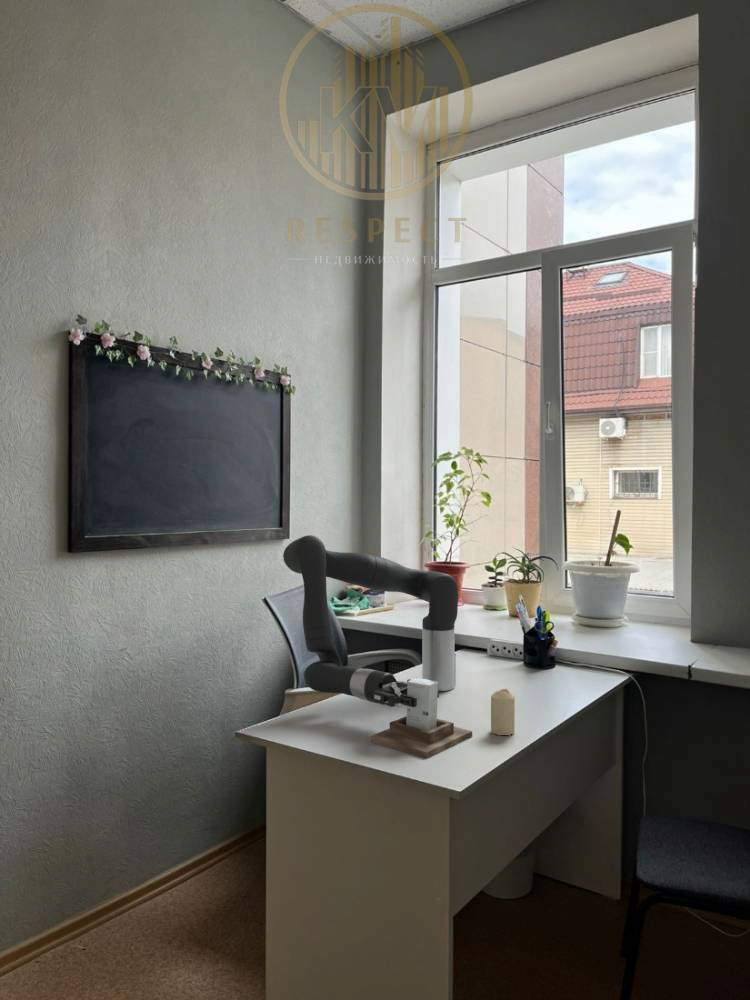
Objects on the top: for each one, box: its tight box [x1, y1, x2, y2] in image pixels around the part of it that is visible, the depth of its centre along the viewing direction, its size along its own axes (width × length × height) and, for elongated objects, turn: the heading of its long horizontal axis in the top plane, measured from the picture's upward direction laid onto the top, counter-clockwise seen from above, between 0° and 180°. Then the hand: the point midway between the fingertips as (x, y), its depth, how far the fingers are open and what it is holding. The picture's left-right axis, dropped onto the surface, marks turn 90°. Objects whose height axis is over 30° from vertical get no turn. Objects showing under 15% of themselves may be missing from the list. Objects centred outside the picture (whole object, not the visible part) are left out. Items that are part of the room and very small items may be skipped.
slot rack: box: [369, 715, 473, 759], centre depth 169 cm, size 18×16×4 cm
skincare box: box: [406, 677, 438, 731], centre depth 170 cm, size 6×4×12 cm
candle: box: [490, 688, 516, 736], centre depth 174 cm, size 6×6×10 cm
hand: (427, 698), depth 168 cm, fingers open, 8 cm apart
